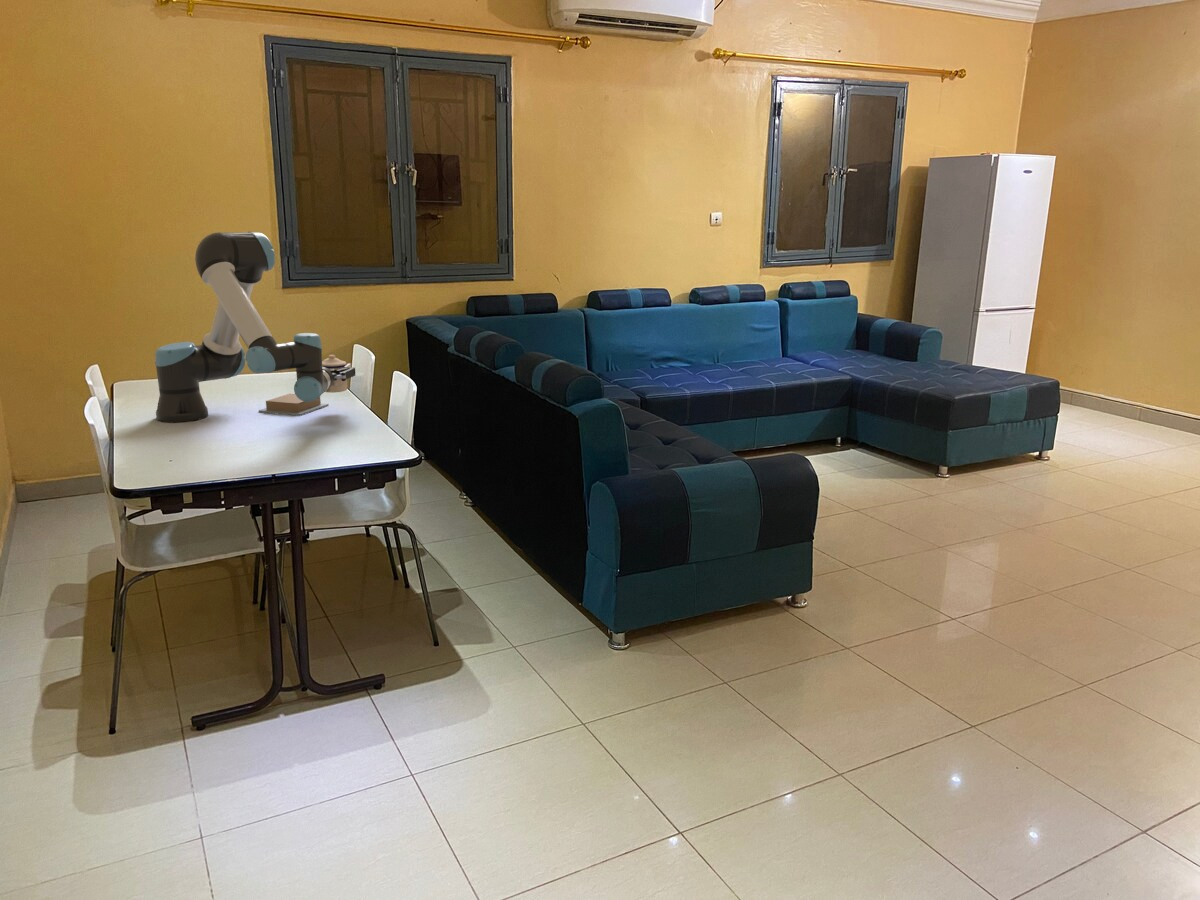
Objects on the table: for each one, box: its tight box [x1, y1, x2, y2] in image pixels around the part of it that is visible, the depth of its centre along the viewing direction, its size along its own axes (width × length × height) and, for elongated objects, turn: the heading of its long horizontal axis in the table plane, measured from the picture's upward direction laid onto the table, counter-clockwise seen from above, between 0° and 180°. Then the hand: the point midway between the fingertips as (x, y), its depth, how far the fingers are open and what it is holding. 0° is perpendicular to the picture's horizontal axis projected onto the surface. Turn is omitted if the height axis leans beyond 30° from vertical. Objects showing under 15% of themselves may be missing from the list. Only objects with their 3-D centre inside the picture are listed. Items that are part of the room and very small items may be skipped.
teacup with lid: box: [322, 354, 348, 394], centre depth 286 cm, size 12×9×12 cm
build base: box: [258, 393, 329, 416], centre depth 294 cm, size 16×16×4 cm
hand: (334, 367), depth 290 cm, fingers closed on teacup with lid, 9 cm apart
